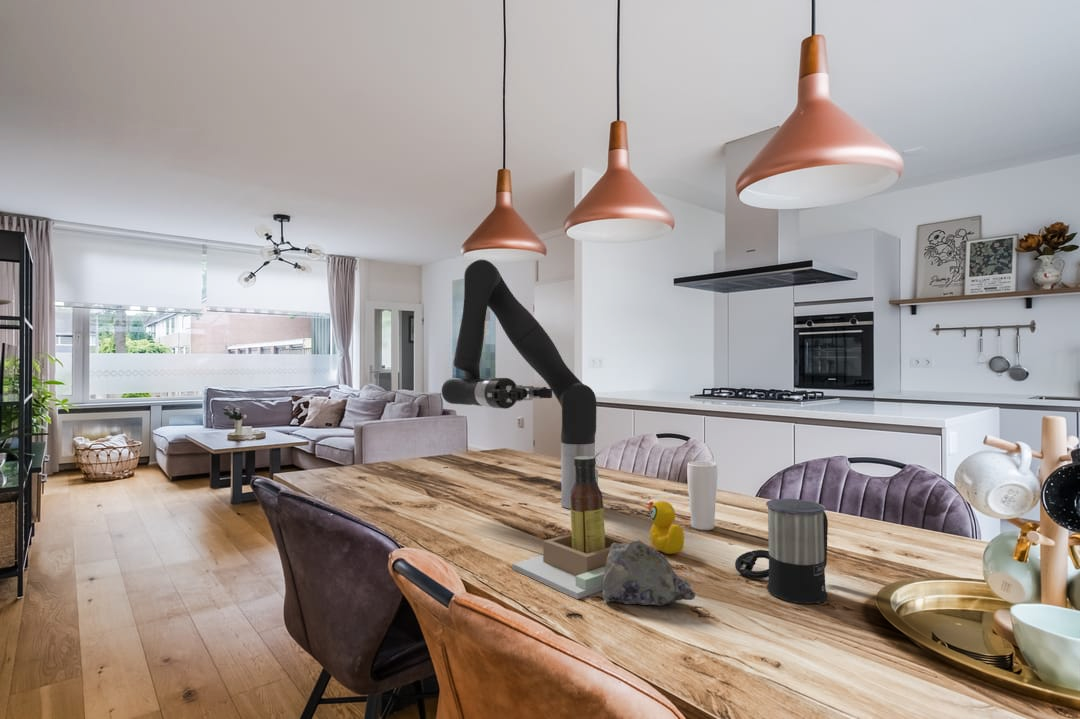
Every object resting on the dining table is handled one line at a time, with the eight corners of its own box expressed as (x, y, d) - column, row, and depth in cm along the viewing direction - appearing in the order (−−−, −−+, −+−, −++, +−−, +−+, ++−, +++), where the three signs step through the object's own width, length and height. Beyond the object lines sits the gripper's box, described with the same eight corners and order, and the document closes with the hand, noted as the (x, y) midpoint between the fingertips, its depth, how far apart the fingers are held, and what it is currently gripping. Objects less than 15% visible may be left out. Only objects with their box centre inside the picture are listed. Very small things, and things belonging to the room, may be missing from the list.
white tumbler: (685, 530, 131) (685, 465, 131) (689, 522, 137) (689, 460, 137) (716, 533, 128) (715, 466, 128) (719, 525, 134) (718, 462, 135)
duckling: (639, 544, 121) (638, 497, 121) (661, 541, 123) (661, 495, 123) (667, 561, 110) (667, 510, 110) (691, 558, 112) (691, 507, 112)
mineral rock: (699, 609, 89) (698, 545, 89) (652, 628, 82) (651, 559, 82) (638, 584, 99) (638, 526, 99) (592, 599, 93) (592, 538, 93)
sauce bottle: (608, 559, 109) (608, 455, 109) (601, 570, 103) (600, 460, 103) (575, 555, 111) (575, 453, 111) (566, 566, 105) (566, 458, 105)
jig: (595, 545, 120) (595, 521, 120) (663, 568, 106) (663, 541, 106) (512, 569, 107) (512, 542, 107) (577, 599, 93) (577, 568, 93)
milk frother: (823, 610, 88) (822, 514, 88) (720, 589, 96) (719, 502, 97) (833, 580, 100) (832, 496, 100) (740, 564, 108) (740, 486, 109)
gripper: (471, 378, 138) (511, 379, 125) (518, 376, 147) (559, 377, 134) (472, 409, 138) (512, 413, 125) (518, 405, 147) (560, 408, 134)
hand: (536, 394), depth 130 cm, fingers open, 8 cm apart
